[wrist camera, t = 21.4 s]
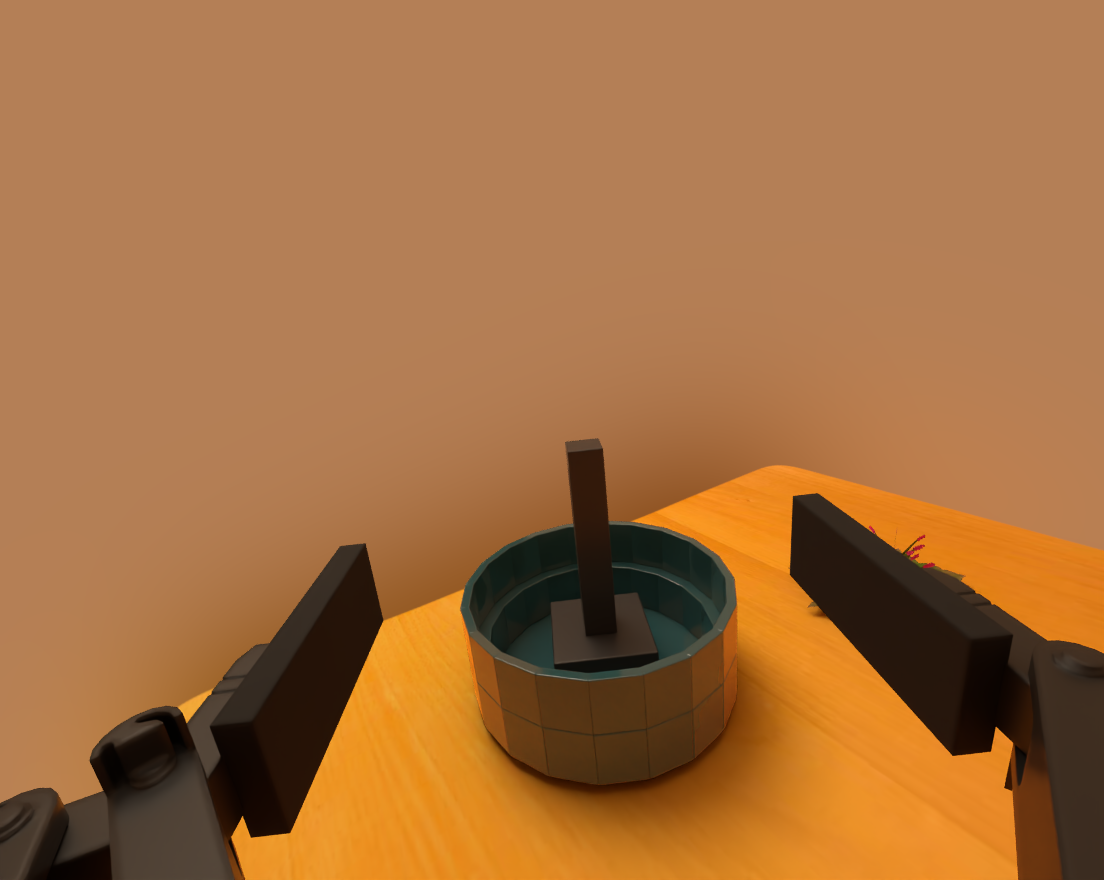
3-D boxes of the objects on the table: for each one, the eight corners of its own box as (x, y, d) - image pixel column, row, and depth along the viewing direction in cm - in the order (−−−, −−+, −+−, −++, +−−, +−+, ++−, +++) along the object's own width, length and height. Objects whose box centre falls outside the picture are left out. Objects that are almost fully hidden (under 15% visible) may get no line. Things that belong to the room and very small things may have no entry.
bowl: (463, 811, 24) (439, 697, 22) (489, 612, 38) (476, 534, 36) (786, 774, 24) (790, 658, 22) (690, 590, 38) (687, 510, 36)
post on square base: (559, 709, 28) (529, 469, 24) (554, 641, 33) (529, 435, 29) (661, 697, 28) (648, 456, 24) (640, 631, 33) (627, 424, 29)
